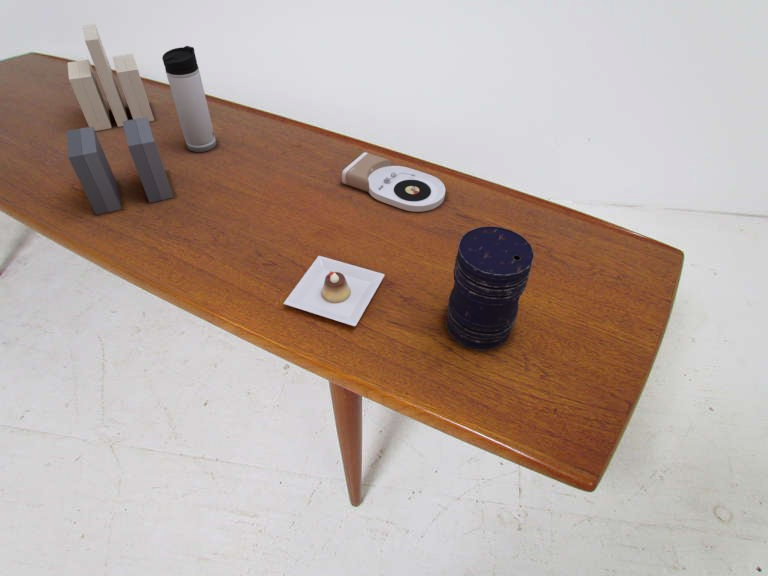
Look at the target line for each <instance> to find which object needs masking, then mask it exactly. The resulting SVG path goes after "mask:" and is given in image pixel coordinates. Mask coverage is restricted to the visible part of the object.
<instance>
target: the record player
mask: <svg viewBox="0 0 768 576" xmlns="http://www.w3.org/2000/svg"><path fill="white" fill-rule="evenodd" d="M341 182H342V184H344V185H347V186H349V187H352V188H355V189H358V190H361V191H363V192H366V193H369V195H370V196H371V197H372V198H373V199H375V200H376V201H378V202H381V203H384V204H386V205H390V206H392V207H395V208H397V209H401V210H404V211H408V212H412V213H413V212H415V213H416V212H417V213H418V212H419V213H421V212H427V211H432V210H434V209H437V208H438V207H440V206H441V205H442V204H443V203H444V201H445V198H446V186H445V184H444V182H443V181H441V180H440V179H439V178H438V177H436V176H435V175H431V174H429V173H426V172H423V171H421V170H417V169H413V168H411V167H407V166H402V165H393V162H392V160H390V159H388V158H385V157H382V156H378V155H376V154H372V153H369V152H366V151H364V152H362V153H361V154H360V155H359V156H358V157H357V158H356V159H355V160H353V161H352V162H351V163H350V164H349V165H347V166H346V167H345V168H344V169H343V170H342V173H341Z"/></svg>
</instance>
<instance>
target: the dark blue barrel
mask: <svg viewBox="0 0 768 576" xmlns="http://www.w3.org/2000/svg"><path fill="white" fill-rule="evenodd" d="M534 258H535V252H534V248H533V247H532V245H531V244H530V241H528V240H527V239H526V238H525V237H524V236H523V235H521V234H519V233H518V232H515V231H513V230H511V229H509V228H505V227H500V226H492V225H490V226H489V225H488V226H487V225H486V226H479V227H475V228H473V229H470V230H468V231H467V232H466V233H464V234H463V235H462V236H461V238H460V240H459V242H458V248H457V254H456V257H455V262H454V268H453V272H452V273H453V281H454V283H453V288H452V289H451V291H450V294H449V295H448V303H447V309H446V310H447V314H446V321H445V323H446V328H447V331H448V333H449V335H450V336H451V338H452V339H453V340H455V342H457V344H459V345H462V346H463V347H465V348H468V349H471V350H475V351H491V350H495V349H498V348H500V347H501V346H503V345H504V344H505V343H506V342H507V341H508V340H509V338H510V335H511V331H512V329H513V327H514V325H515V323H516V319H517V317H518V314H519V301H520V299H521V296H522V295H523V294H524V292H525V290H526V288H527V284H528V281H529V277H530V275H531V274H530V273H531V269H532V268H531V267H532V266H533V262H534Z"/></svg>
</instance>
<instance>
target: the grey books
mask: <svg viewBox="0 0 768 576" xmlns="http://www.w3.org/2000/svg"><path fill="white" fill-rule="evenodd" d="M122 122H123V126H122V127H123V131H124V135H125V139H126V144H127V147H128V151H129V153H130V156H131V157H132V161H133V163H134V166H135V168H136V171H137V174H138V176H139V179H140V182H141V184H142V187H143V189H144V192H145V195H146V199H147V200H148V203H149V204H151V203H156V202H161V201H165V200H169V199H173V198H174V196H173V191H172V188H171V184H170V182H169V179H168V175H167V172H166V169H165V166H164V163H163V160H162V157H161V154H160V151H159V148H158V145H157V142H156V140H155V136H154V132H153V130H152V128H151V124H150V122H149V121H148V118H147V117H145V118H139V119H133V118H132V119H128V120H127V121H122ZM66 140H67V141H66V144H67V157H68V160H69V162H70V164H71V167H72V168H73V170H74V173H75V175H76V176H77V179H78V181H79V183H80V185H81V187H82V189H83V191H84V194H85V195H86V197H87V200H88V202H89V204H90V206H91V207H92V210H93V212H94V214H95V216H98V215H103V214H107V213H112V212H117V211H120V210H122V206H121V205H122V204H121V200H120V199H121V198H120V193H119V188H118V182H117V179H116V177H115V175H114V173H113V171H112V168H111V165H110V163H109V161H108V158H107V156H106V153H105V151H104V148H103V146H102V144H101V142H100V139H99V137H98V134H97V131H95V130H94V127H93V126H92V127H89V126H87V127H81V128H76V129H75V128H74V129H70V130H66Z"/></svg>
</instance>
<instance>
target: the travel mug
mask: <svg viewBox="0 0 768 576" xmlns="http://www.w3.org/2000/svg"><path fill="white" fill-rule="evenodd" d="M161 59H162V62H163V66H164V70H165V73H166V78H167V81H168V84H169V89H170V92H171V95H172V97H173V98H172V99H173V102H174V106H175V109H176V113H177V116H178V121H179V123H180V126H181V130H182V134H183V137H184V140H185V144H186V147H187V149H188V150H189V151H192V152H194V153H205V152H209V151H211V150H213V149H214V148H216V146H217V139H216V136H215V131H214V127H213V122H212V118H211V114H210V109H209V105H208V102H207V97H206V93H205V89H204V85H203V81H202V77H201V76H202V75H201V71H200V67H199V65H198V61H197V57H196V53H195V48H194V47H193V46H189V45H185V46H181V47H175V48H172V49H169V50H167V51H165V53H164V54H163V55H162V57H161Z"/></svg>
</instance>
